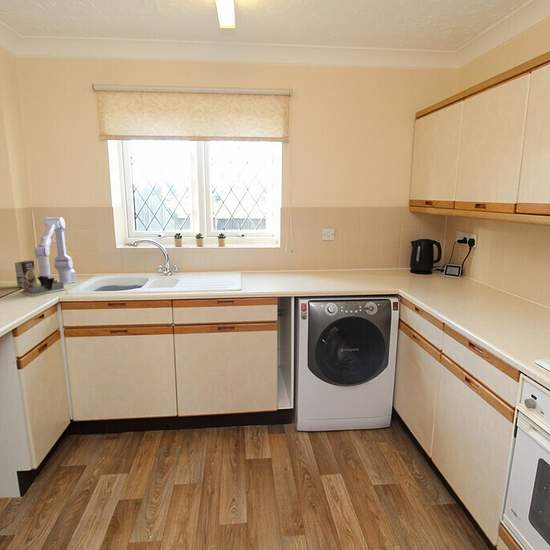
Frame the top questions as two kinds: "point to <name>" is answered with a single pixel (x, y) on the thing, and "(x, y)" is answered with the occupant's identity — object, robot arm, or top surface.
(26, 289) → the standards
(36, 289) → the rail
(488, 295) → the top surface
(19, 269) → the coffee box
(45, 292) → the mat
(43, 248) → the robot arm
